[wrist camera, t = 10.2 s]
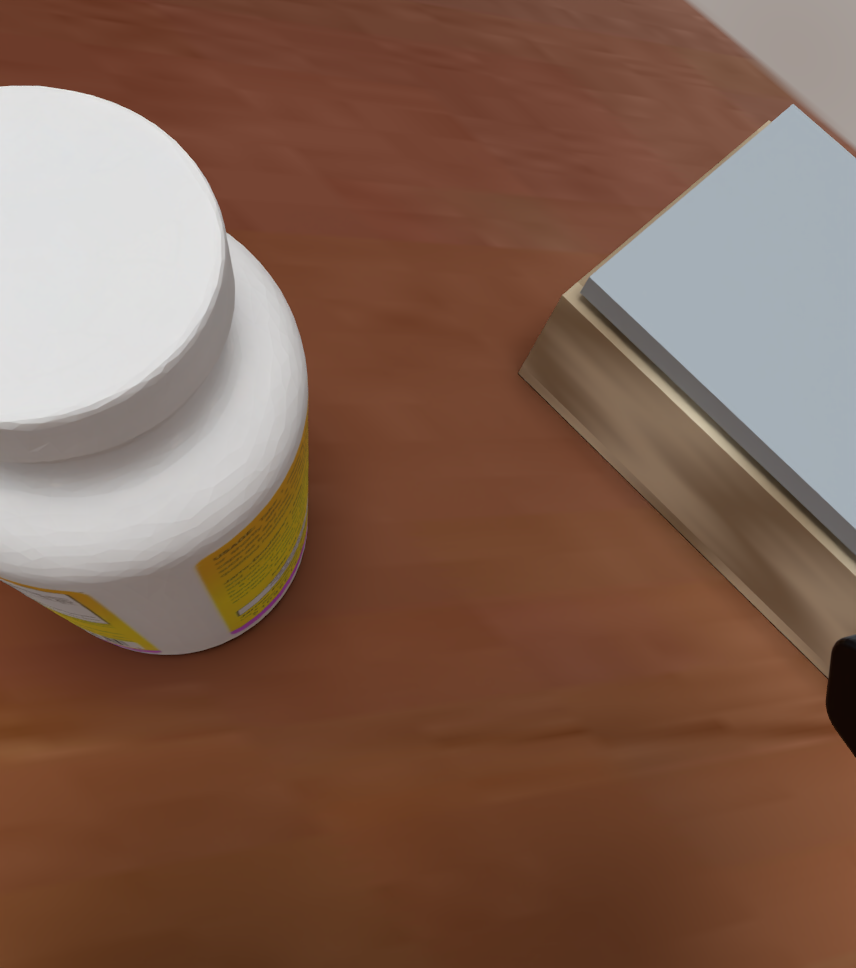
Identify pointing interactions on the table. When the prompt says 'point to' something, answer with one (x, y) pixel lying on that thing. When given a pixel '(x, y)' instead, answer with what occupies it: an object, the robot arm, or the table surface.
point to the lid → (759, 307)
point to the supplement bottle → (139, 386)
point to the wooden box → (696, 471)
